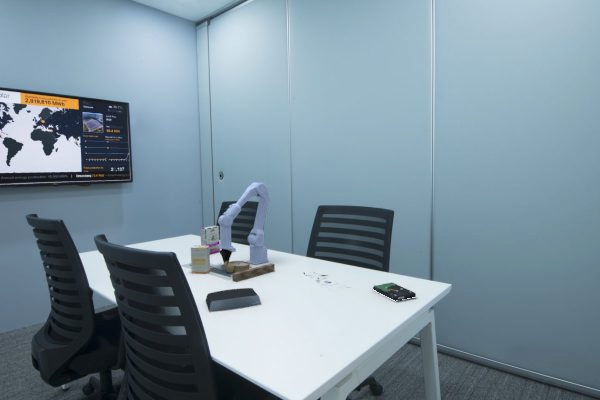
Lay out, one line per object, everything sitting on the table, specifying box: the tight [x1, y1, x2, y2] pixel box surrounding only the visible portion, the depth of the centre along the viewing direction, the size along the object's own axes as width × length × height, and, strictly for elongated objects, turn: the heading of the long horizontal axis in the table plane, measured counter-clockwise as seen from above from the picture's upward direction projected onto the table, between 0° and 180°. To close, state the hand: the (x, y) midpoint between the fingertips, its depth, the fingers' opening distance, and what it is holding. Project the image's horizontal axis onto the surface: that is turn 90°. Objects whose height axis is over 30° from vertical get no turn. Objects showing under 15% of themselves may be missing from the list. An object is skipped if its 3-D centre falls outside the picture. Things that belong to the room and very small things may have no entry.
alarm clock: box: [220, 260, 253, 274], centre depth 183 cm, size 11×5×15 cm
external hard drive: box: [205, 287, 262, 313], centre depth 138 cm, size 13×19×4 cm
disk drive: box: [372, 282, 416, 301], centre depth 146 cm, size 10×3×15 cm
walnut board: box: [231, 263, 276, 283], centre depth 173 cm, size 24×2×4 cm, turn 137°
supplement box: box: [190, 245, 211, 274], centre depth 179 cm, size 8×5×13 cm, turn 84°
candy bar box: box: [200, 225, 221, 255], centre depth 220 cm, size 11×5×16 cm, turn 147°
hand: (226, 263), depth 189 cm, fingers closed
